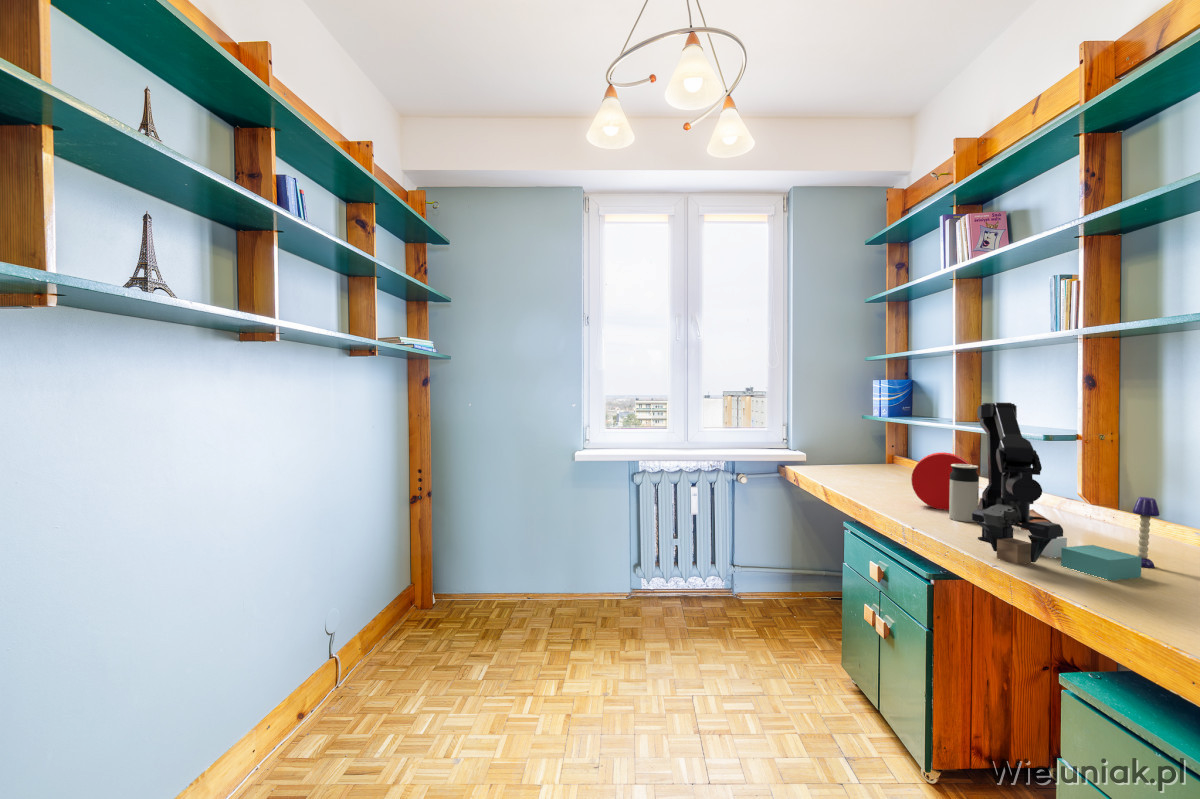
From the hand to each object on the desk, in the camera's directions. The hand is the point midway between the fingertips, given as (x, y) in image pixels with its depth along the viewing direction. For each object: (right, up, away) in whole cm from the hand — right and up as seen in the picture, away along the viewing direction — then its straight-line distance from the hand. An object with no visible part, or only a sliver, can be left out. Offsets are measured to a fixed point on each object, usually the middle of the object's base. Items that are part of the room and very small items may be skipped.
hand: (1014, 556), depth 136 cm
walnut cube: (0, -1, 0) cm, 1 cm away
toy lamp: (+29, -1, -3) cm, 30 cm away
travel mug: (+16, 0, +43) cm, 46 cm away
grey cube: (+13, -1, +5) cm, 14 cm away
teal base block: (+14, -2, -8) cm, 16 cm away
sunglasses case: (+33, -1, +36) cm, 49 cm away
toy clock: (+20, 0, +60) cm, 63 cm away
